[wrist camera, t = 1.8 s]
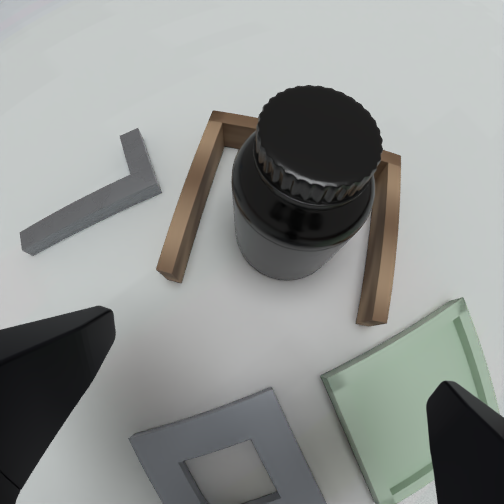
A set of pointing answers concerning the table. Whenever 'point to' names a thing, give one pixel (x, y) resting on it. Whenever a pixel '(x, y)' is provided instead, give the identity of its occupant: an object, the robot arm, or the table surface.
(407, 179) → the table surface
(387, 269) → the u-shaped bracket
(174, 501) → the hole plate
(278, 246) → the supplement bottle
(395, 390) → the tray
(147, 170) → the crook tool
